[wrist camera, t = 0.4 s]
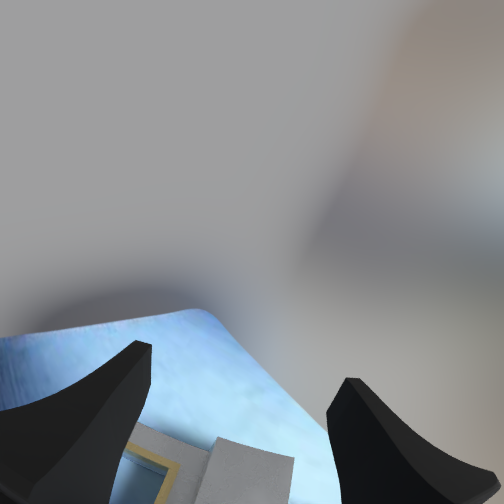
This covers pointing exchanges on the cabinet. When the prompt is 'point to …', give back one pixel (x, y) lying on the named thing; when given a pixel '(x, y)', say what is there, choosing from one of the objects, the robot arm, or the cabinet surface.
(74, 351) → the cabinet surface
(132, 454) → the white stepped block
